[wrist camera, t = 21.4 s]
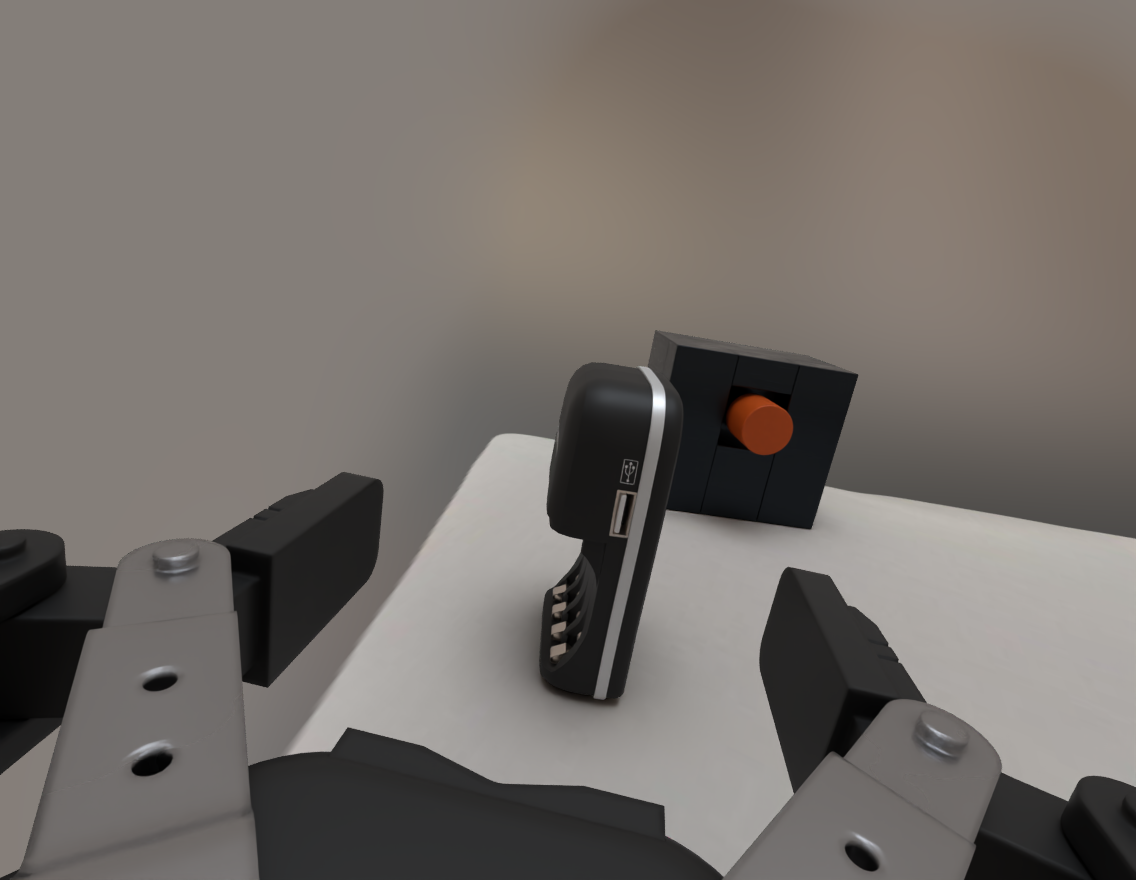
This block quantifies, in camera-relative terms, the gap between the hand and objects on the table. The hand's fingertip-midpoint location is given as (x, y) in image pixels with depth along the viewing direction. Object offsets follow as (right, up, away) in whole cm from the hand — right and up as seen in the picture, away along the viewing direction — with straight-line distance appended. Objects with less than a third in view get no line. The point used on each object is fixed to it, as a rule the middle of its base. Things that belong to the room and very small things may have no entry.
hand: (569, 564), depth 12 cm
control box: (+11, -2, +33) cm, 35 cm away
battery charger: (0, -6, +13) cm, 14 cm away
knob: (+12, +2, +27) cm, 30 cm away
